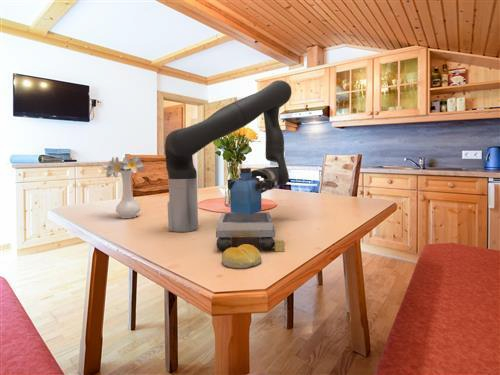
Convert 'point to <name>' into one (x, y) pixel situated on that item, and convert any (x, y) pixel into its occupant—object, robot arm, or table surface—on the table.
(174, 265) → the table surface
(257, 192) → the perfume bottle
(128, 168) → the flower vase
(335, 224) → the table surface
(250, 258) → the bread roll
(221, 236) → the trolley
